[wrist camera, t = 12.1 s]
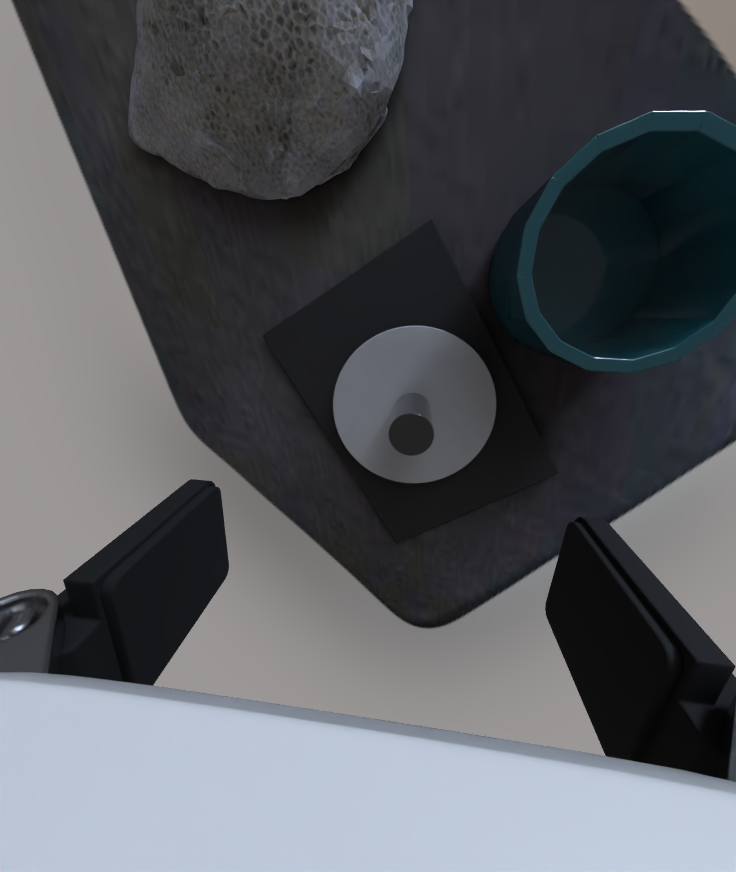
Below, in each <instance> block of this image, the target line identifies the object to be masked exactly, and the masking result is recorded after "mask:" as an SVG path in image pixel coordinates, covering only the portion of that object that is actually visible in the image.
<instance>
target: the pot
mask: <svg viewBox="0 0 736 872" xmlns="http://www.w3.org/2000/svg"><path fill="white" fill-rule="evenodd" d="M489 288H490V296H491V302H492V305H493V308H494V311H495V313H496V316H497V318H498V320H499V321H500V323H501V324H502V326H503V327H504V329H505V330H506V331H507V332H508V333H509V334H510V336H511V337H513V338H514V340H515V341H517V342H518V343H520V344H522V345H524V346H525V347H527V348H529V349H532V350H534V351H536V352H538V353H540V354H542V355H544V356H547V357H550V358H553V359H556V360H559V361H561V362H564V363H567V364H570V365H573V366H576V367H578V368H581V369H584V370H588V371H599V372H614V373H635V372H639V371H642V370H645V369H649V368H652V367H656V366H659V365H663V364H666V363H669V362H673V361H676V360H679V359H681V358H682V357H684V356H685V355H687V354H688V353H690V352H691V351H693V350H694V349H696V348H697V347H699V346H700V345H702V344H703V343H705V342H706V341H708V340H709V339H711V338H712V337H714V336H715V335H717V334H718V333H720V332H721V331H722V330H723V329H724V328H726V327H727V325H728V324H729V323H730V322H731V320H732V319H733V318H734V317H735V315H736V126H735V125H734V124H732V123H730V122H728V121H726V120H724V119H722V118H721V117H719V116H717V115H715V114H713V113H711V112H709V111H708V112H707V111H652V112H648V113H646V114H644V115H641V116H639V117H637V118H634V119H632V120H630V121H627V122H625V123H623V124H621V125H618V126H616V127H614V128H611V129H609V130H607V131H604V132H602V133H600V134H598V135H596V136H595V137H594V138H592V139H591V140H590V141H589V142H588V143H587V144H586V145H585V146H584V147H583V148H582V149H581V150H579V151H578V152H577V153H576V154H575V155H574V156H573V157H572V158H571V159H570V160H569V161H568V162H567V163H565V164H564V165H563V166H562V167H561V168H560V169H559V170H558V171H557V172H556V173H555V174H554V175H553V176H552V177H551V178H550V179H549V180H548V181H547V182H546V183H545V184H544V185H543V186H542V187H541V188H540V189H539V190H538V191H537V192H536V193H535V194H534V195H532V196H531V197H530V198H529V199H528V200H527V201H526V202H525V203H524V204H523V205H522V206H521V207H520V208H519V209H518V210H517V211H516V212H515V213H514V215H513V216H512V217H511V219H510V221H509V223H508V225H507V226H506V228H505V229H504V231H503V233H502V234H501V237H500V239H499V241H498V243H497V245H496V247H495V250H494V254H493V257H492V262H491V267H490V276H489Z"/></svg>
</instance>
